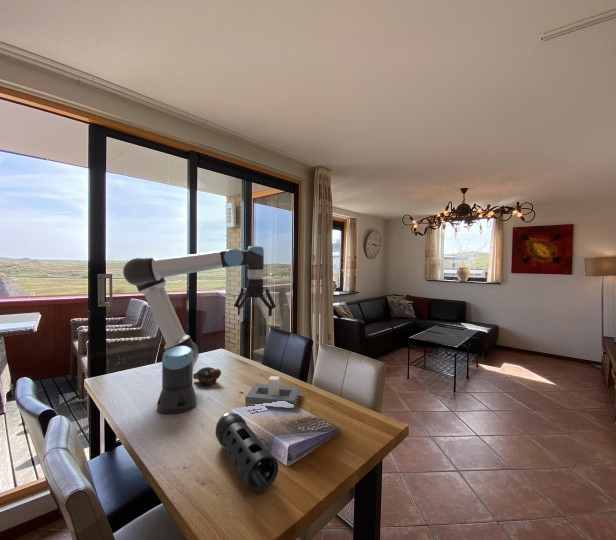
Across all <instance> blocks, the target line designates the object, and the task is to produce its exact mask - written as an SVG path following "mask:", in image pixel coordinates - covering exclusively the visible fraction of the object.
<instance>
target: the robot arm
mask: <svg viewBox="0 0 616 540" xmlns="http://www.w3.org/2000/svg"><path fill="white" fill-rule="evenodd" d="M264 252H265V251H264V247H262V246H258V245H257V246H255V245H250V246H248V247H247V250H246V249H238V248H237V247H236V248H235V247H234V248H233V247H231V248H229V249H222V250H216V251H215V250H213V251H209V252H208V251H207V252H201V253H196V254H195V253H194V254H193V253H192V254H187V255H182V256H181V255H179V256H174V257H173V256H172V257H166V258H157V257H143V258H142V257H137V258H132V259H130V260H129V261H127V262H126V263H125V264H124V267H123V269H122V274H123V278H124V279H125V281H127V282H128V284H130V285H132V286H136V288H137V292H138V293H140V294H143V295H144V297H145V299H146V301H147V304H148V306H149V309H150V311H151V312H152V314H153V315H152V316H154V319H155V321H156V323H157V325H158V328H159V330H160V332H161V334H162V336H163V339H164V342H165V344H164V352H163V354H162V358H161V365H162V367H161V369H162V370H161V371H162V372H161V376H162V378H161V381H162V382H161V391H160V395H159V397H158V400H157V404H156V405H157V406H156V410H157V412H158V413H161V414H165V415H175V414H176V415H177V414H180V413H185V412H187V411H190V410H192V409H193V408H195V406H197V398H198V397H197V395H196V392H195V388H194V384H193V379H194V378H193V375H194V372H193V371H194V367H195V364H196V362H197V360H198V358H199V348H198V346H197V344H196V343H195V342H193V340H192V337H191V336H190V335H188V334H186V332H185V331H184V329H183V326H182V324H181V321H180V319H179V317H178V315H177V312H176V311H175V307H174V305H173V303H172V301H171V300H170V299H171V298H170V297H169V294H168V292H167V290H166V289H165V285H166V283H167V281H166V279H165V278H168V277H172V276H173V277H175V276H180V275H185V274H186V275H187V274H193V273H200V272H205V271H212V270H218V269H223V268H231V267H238V266H239V267H247V278H248V279H247V282H246V283H247V284H246V285H247V287H246V288H245V287H241V288H240V292H239V295H238V296H237V299H236V301H235V303H234V304H233V306H234V308H237V315H239V323H242V322H243V321H244V307H243V306H244V305H245V304H246V303H247V301H248V300H249V299H250V298H252V299H254V298H255V299H258V298H259V299H260V300H261V301H262V302H263V304H264V305H265V306H266V308H267V309H266V324H270V323H271V321H270V320H271V317H272V315H273V309H275V308H276V307H277V305H276V304H275V300H274V299H273V297H272V294H271V292H270V291H271V290H270V288H264V263H265V260H264V259H265V255H264ZM245 293H247V295H246V296H245V297H244V295H245ZM264 294H265V295H266V297H265V295H264ZM243 297H244V298H243ZM266 298H267V299H268V300H267V299H266Z"/></svg>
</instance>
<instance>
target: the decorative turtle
mask: <svg viewBox="0 0 616 540" xmlns="http://www.w3.org/2000/svg"><path fill="white" fill-rule="evenodd" d="M221 375H222V371H221V369H220V368H213V367H210V366H209V367H207V366H206V367H203V368H200V369H199V370H198V371H197V372H195V373H193V379H194V380H197V381H198V384H199V385H201V386H203V385H204V384H206V385H207V386H208V387H211V385H212V384H213V383H216V382H217V379H219V378H220V377H221Z"/></svg>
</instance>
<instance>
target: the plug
mask: <svg viewBox="0 0 616 540" xmlns="http://www.w3.org/2000/svg"><path fill="white" fill-rule="evenodd" d="M280 380H281V379H280V376H277V375H276V376H275V375H271V376H270V377H269V378H268V380H267V381H268V384H267V385H268V395H279V386H280Z"/></svg>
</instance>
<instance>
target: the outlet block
mask: <svg viewBox="0 0 616 540" xmlns="http://www.w3.org/2000/svg"><path fill="white" fill-rule="evenodd" d="M300 389H301V388H300V386H290V385H289V386H288V385H287V386H286V385H279V395H268V384H266V383H265V384H263V383H255V384H254V386H253V387H252V388H250V391H248V393H247V394H246V396H245V403H244V404H245V406H253V405H252V404H263V403H272V402H277V401H286V402H288V403H290V404H293V405H295V404H296V405H297V402H298V400H297V399H299V397H300V395H299V394H300V392H301V391H300ZM298 396H299V397H298ZM296 401H297V402H296ZM246 404H247V405H246ZM296 405H295V406H296Z"/></svg>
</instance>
